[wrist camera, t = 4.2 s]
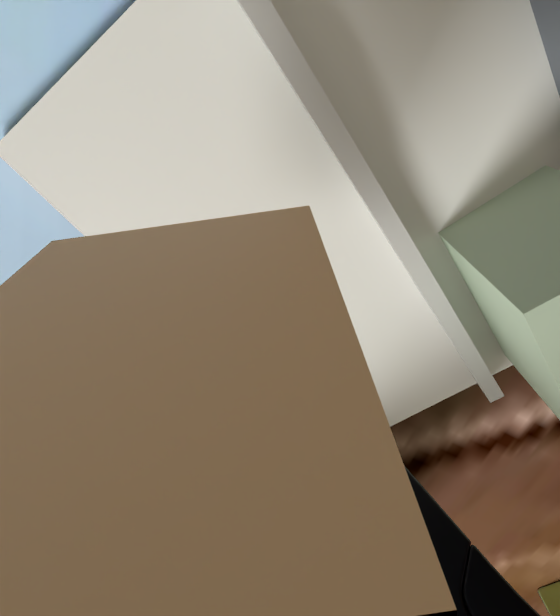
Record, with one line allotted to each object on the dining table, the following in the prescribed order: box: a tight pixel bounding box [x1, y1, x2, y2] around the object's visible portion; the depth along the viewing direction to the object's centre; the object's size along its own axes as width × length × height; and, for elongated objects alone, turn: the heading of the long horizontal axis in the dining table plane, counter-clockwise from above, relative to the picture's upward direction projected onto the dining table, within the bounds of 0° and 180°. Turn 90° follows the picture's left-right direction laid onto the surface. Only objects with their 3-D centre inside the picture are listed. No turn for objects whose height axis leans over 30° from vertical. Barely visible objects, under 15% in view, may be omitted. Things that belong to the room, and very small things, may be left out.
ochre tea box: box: [0, 206, 457, 616], centre depth 7 cm, size 9×5×7 cm, turn 7°
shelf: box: [0, 0, 560, 427], centre depth 18 cm, size 24×20×3 cm
